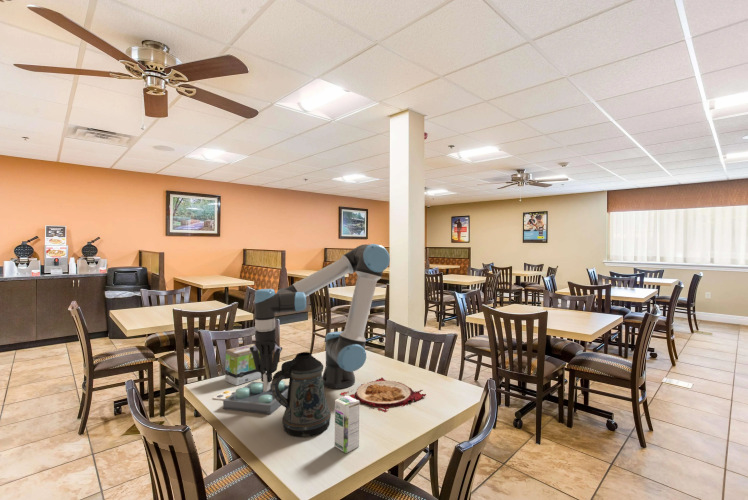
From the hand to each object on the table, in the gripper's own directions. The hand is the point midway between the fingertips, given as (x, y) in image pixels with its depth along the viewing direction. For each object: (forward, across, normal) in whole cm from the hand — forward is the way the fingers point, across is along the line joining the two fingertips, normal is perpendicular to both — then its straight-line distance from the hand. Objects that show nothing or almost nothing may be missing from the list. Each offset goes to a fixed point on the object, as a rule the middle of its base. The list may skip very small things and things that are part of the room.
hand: (266, 390), depth 139 cm
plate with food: (+9, -41, -21) cm, 47 cm away
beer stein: (+7, -20, +11) cm, 24 cm away
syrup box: (+7, -38, +19) cm, 44 cm away
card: (+6, +22, -6) cm, 23 cm away
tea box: (+7, +26, -25) cm, 36 cm away
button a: (+3, +1, -10) cm, 10 cm away
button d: (+3, +10, 0) cm, 11 cm away
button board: (+7, +6, -5) cm, 10 cm away
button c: (+5, +11, -10) cm, 15 cm away
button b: (+5, +1, 0) cm, 5 cm away
